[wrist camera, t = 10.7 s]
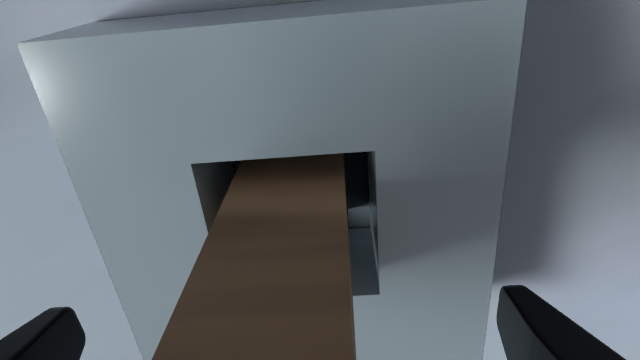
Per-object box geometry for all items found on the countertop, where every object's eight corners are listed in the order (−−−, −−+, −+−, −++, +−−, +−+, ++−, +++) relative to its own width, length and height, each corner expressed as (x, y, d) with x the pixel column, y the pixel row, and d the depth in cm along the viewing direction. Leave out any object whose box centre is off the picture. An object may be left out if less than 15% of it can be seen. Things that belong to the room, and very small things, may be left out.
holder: (454, 290, 17) (482, 365, 14) (182, 303, 18) (150, 377, 15) (476, -15, 12) (527, -4, 9) (94, 21, 13) (16, 43, 9)
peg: (347, 209, 15) (367, 554, 6) (265, 214, 16) (175, 556, 7) (342, 130, 14) (357, 434, 5) (251, 137, 14) (115, 440, 5)
